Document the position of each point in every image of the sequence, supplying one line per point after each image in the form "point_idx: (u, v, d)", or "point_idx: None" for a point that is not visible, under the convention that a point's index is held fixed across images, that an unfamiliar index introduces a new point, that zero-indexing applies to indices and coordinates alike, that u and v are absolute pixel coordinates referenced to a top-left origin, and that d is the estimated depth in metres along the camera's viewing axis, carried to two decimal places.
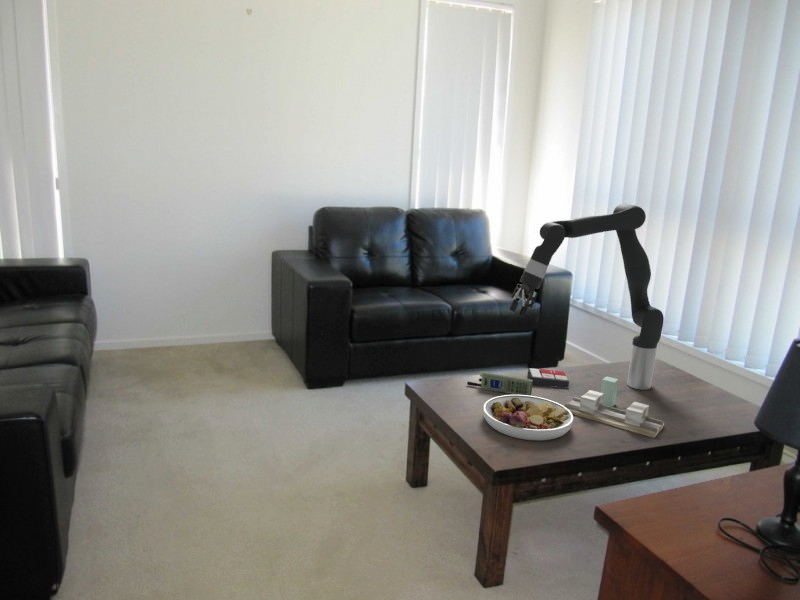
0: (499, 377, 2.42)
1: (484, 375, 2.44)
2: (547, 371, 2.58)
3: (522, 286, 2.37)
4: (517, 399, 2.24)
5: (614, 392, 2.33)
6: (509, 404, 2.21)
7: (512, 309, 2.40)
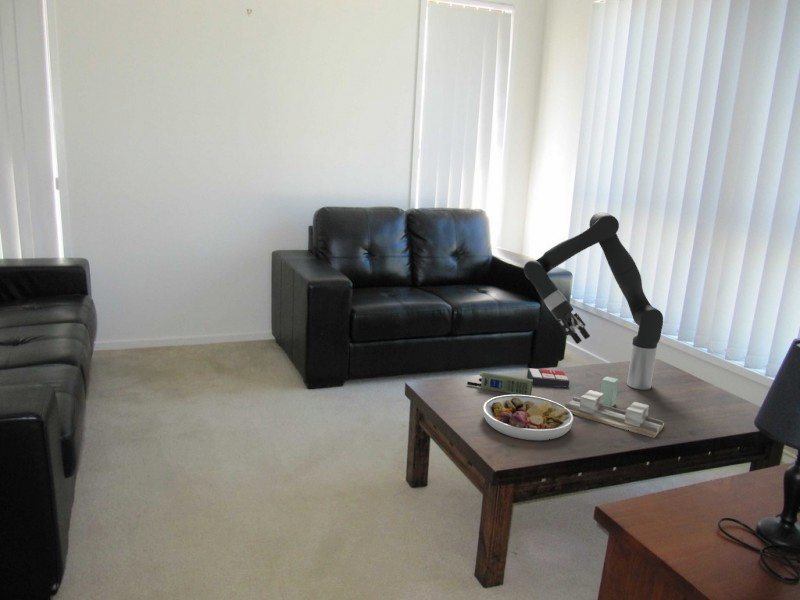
0: (499, 377, 2.42)
1: (484, 375, 2.44)
2: (547, 371, 2.58)
3: None
4: (517, 399, 2.24)
5: (614, 392, 2.33)
6: (509, 404, 2.21)
7: (586, 336, 2.40)
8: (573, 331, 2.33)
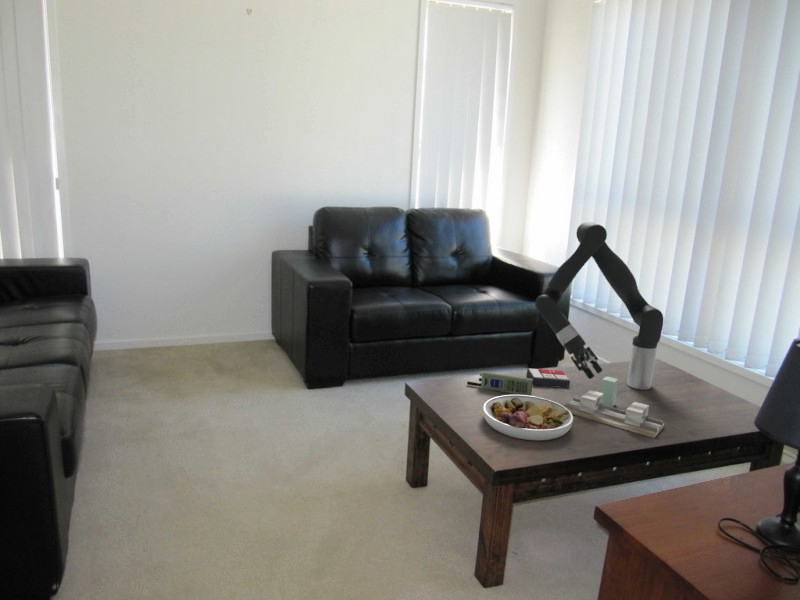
0: (499, 376, 2.43)
1: (484, 375, 2.44)
2: (546, 371, 2.58)
3: None
4: (517, 399, 2.24)
5: (614, 392, 2.33)
6: (509, 404, 2.21)
7: (598, 371, 2.39)
8: (586, 366, 2.33)
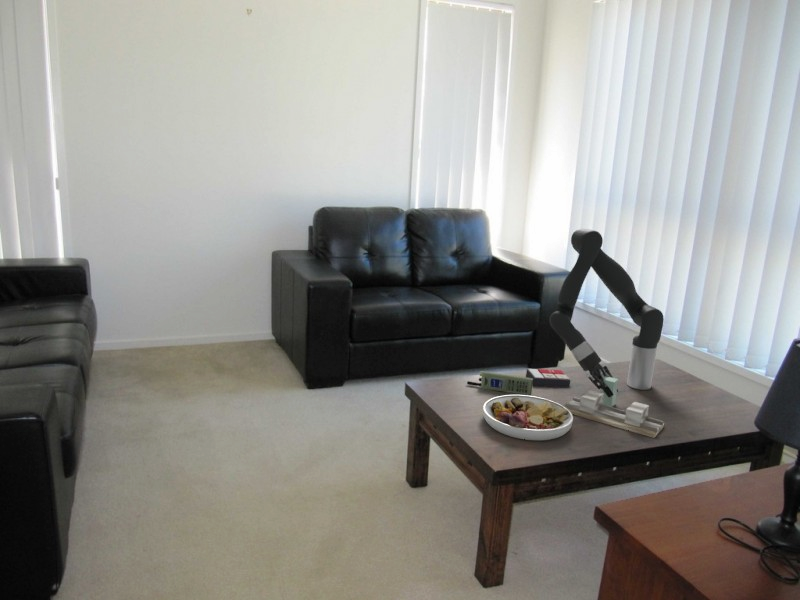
0: (499, 376, 2.43)
1: (484, 374, 2.44)
2: (546, 371, 2.59)
3: None
4: (517, 399, 2.24)
5: (614, 392, 2.33)
6: (509, 404, 2.21)
7: None
8: (605, 385, 2.31)
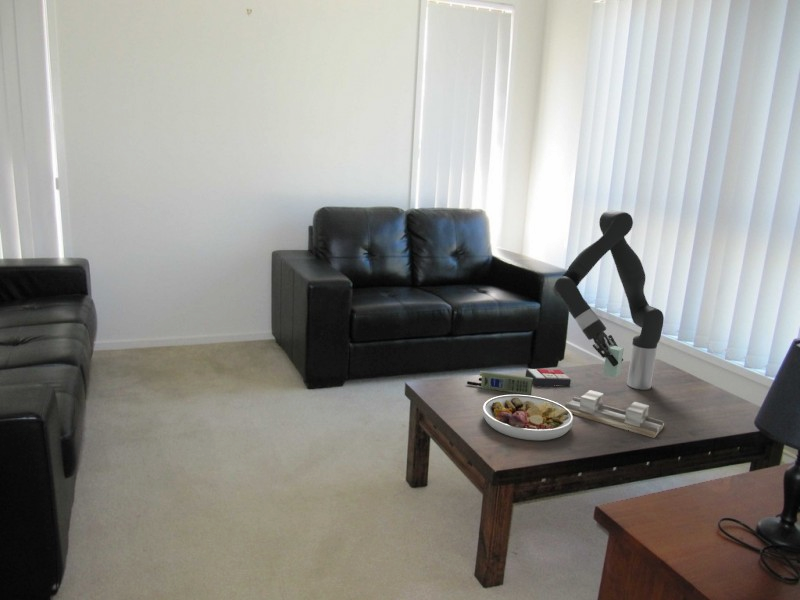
0: (499, 376, 2.43)
1: (484, 374, 2.45)
2: (545, 371, 2.59)
3: None
4: (517, 399, 2.24)
5: (619, 361, 2.25)
6: (509, 404, 2.21)
7: None
8: (610, 354, 2.23)
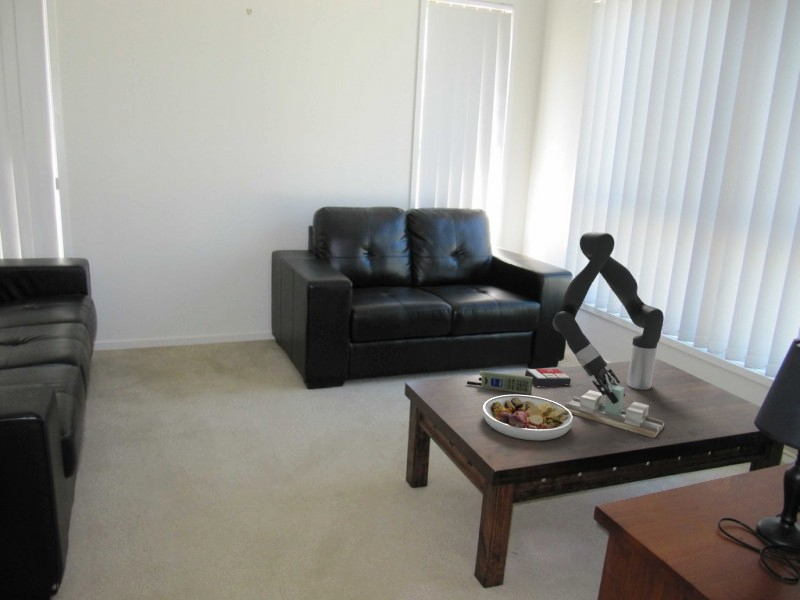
0: (499, 375, 2.44)
1: (484, 374, 2.45)
2: (545, 370, 2.59)
3: None
4: (517, 399, 2.24)
5: (620, 401, 2.19)
6: (509, 404, 2.21)
7: None
8: (610, 391, 2.17)
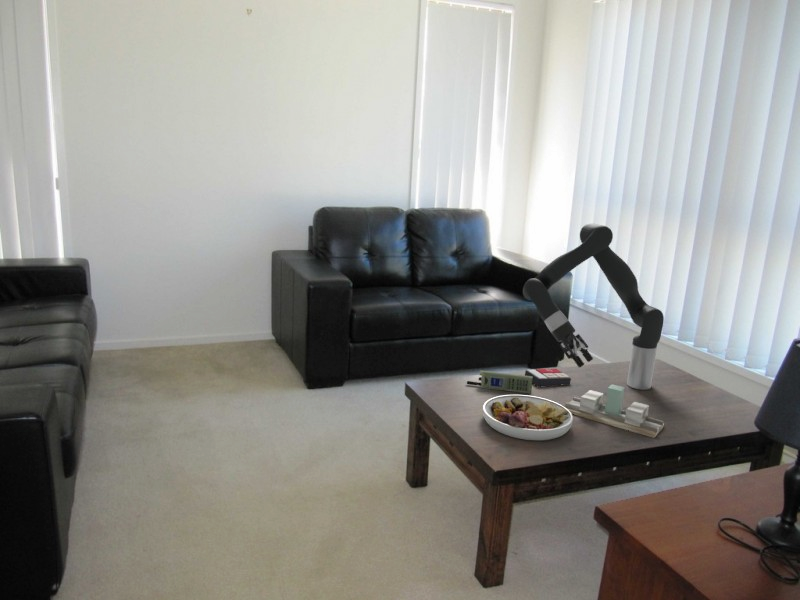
0: (499, 375, 2.44)
1: (484, 374, 2.45)
2: (544, 370, 2.59)
3: None
4: (517, 399, 2.24)
5: (620, 401, 2.19)
6: (509, 404, 2.21)
7: (589, 359, 2.28)
8: (575, 354, 2.21)
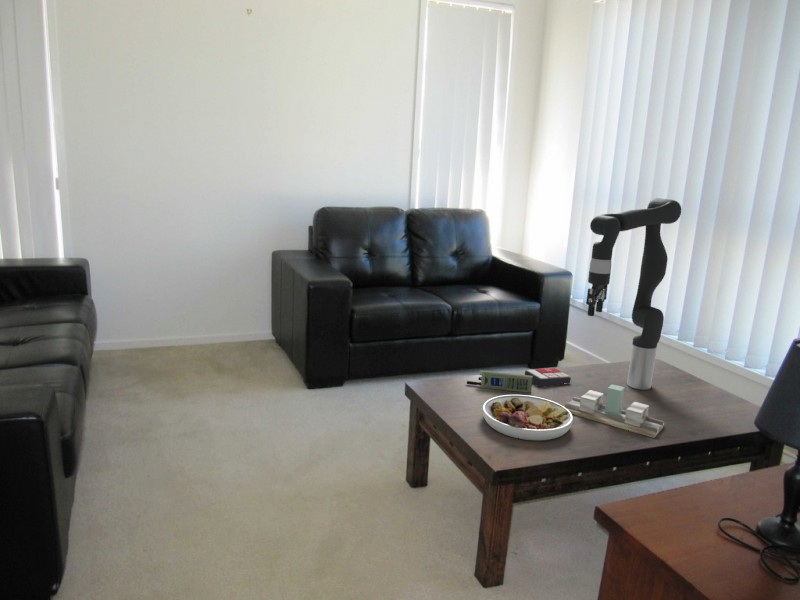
0: (499, 375, 2.44)
1: (484, 374, 2.45)
2: (544, 370, 2.59)
3: None
4: (517, 399, 2.24)
5: (620, 401, 2.19)
6: (509, 404, 2.21)
7: (598, 310, 2.37)
8: (594, 304, 2.28)
